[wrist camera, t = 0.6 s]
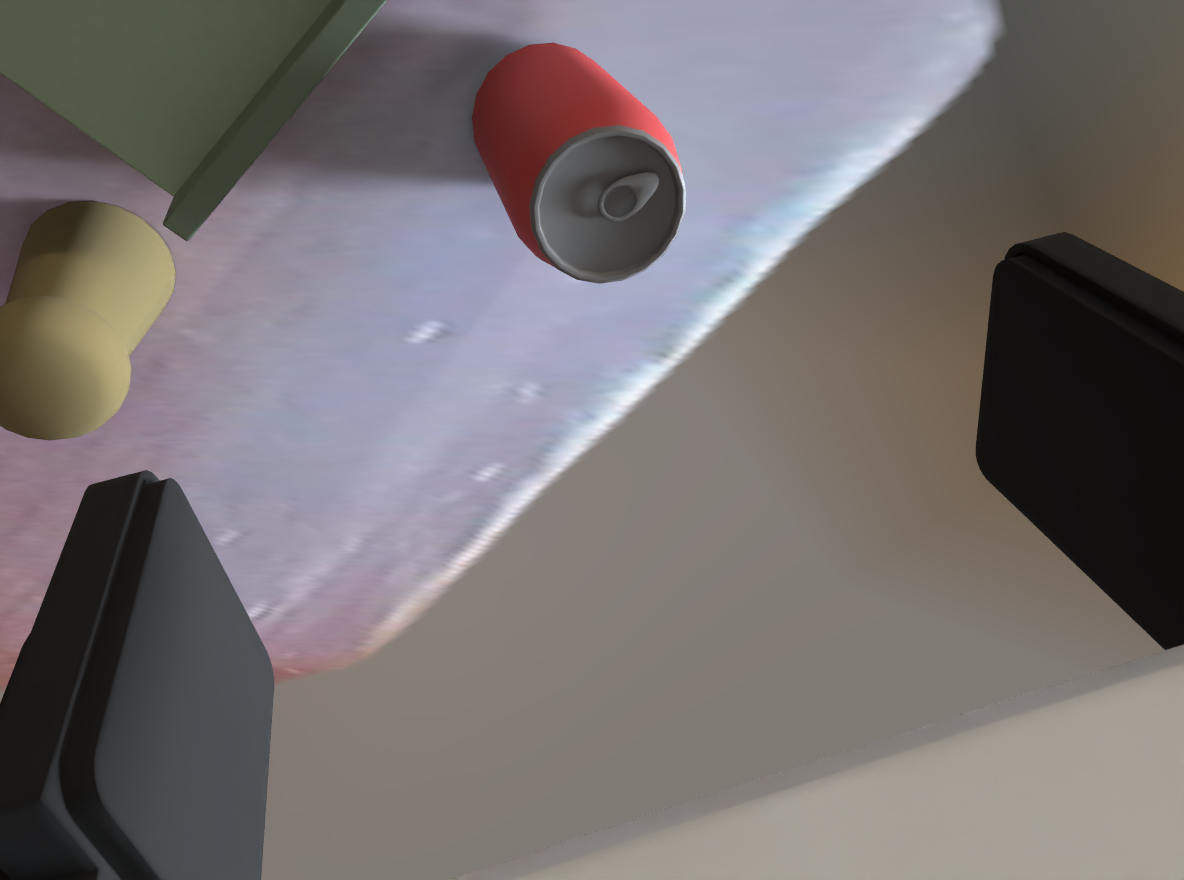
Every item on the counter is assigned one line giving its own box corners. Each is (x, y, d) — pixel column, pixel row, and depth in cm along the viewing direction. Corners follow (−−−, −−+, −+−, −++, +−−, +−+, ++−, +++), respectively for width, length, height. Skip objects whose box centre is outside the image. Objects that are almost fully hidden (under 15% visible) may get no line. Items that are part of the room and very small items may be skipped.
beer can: (638, 140, 43) (730, 233, 33) (519, 216, 43) (575, 330, 34) (569, 8, 39) (650, 70, 29) (440, 94, 40) (477, 182, 30)
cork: (9, 303, 40) (-81, 440, 31) (37, 177, 38) (-51, 287, 29) (156, 347, 43) (111, 484, 34) (192, 232, 40) (154, 347, 31)
